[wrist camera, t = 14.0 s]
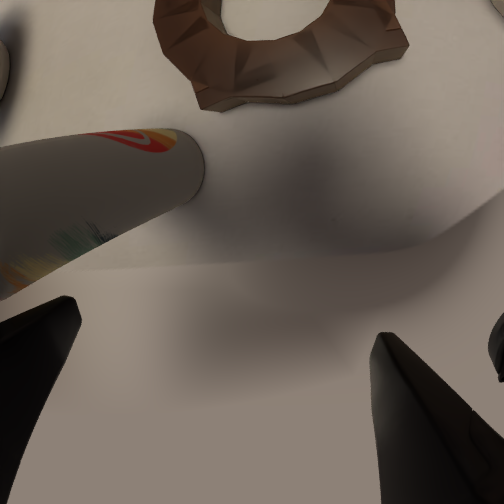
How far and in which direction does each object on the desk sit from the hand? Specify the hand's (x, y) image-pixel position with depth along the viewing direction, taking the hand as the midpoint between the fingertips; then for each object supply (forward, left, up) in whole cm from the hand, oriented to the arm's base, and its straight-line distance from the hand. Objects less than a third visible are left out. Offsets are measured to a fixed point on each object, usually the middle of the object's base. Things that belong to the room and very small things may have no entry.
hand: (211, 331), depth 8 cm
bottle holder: (+14, -3, -13) cm, 19 cm away
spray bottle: (+6, +7, -13) cm, 16 cm away
